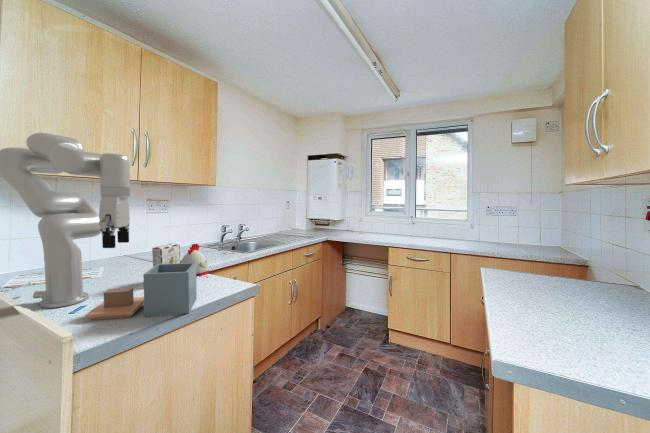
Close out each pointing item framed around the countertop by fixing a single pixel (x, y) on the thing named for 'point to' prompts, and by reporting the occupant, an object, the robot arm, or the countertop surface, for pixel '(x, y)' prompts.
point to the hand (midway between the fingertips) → (116, 245)
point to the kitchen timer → (196, 260)
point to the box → (169, 289)
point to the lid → (116, 305)
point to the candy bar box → (166, 254)
